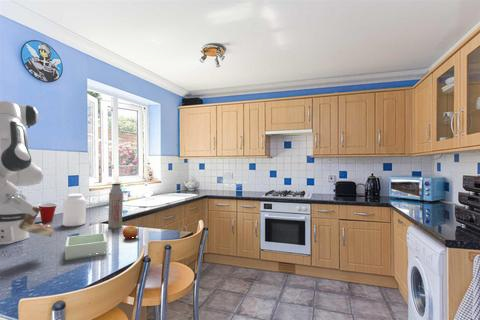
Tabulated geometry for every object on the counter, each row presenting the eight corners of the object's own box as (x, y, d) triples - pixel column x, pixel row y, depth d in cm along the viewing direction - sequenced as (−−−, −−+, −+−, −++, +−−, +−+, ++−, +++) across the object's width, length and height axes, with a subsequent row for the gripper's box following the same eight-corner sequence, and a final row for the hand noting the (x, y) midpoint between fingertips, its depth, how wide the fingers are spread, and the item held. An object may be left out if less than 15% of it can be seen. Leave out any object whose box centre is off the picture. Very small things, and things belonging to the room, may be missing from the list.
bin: (64, 260, 112) (65, 246, 112) (67, 249, 126) (67, 236, 126) (106, 254, 120) (106, 241, 120) (104, 244, 134) (104, 232, 134)
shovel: (22, 230, 108) (35, 207, 111) (17, 226, 113) (30, 204, 116) (50, 236, 115) (62, 215, 119) (45, 233, 121) (56, 212, 124)
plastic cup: (49, 223, 172) (49, 205, 172) (33, 223, 172) (33, 205, 172) (60, 219, 183) (61, 202, 183) (45, 219, 183) (46, 202, 183)
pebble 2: (42, 227, 115) (50, 223, 118) (41, 227, 118) (49, 224, 120) (45, 233, 116) (53, 230, 118) (44, 234, 118) (52, 230, 120)
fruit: (131, 232, 152) (135, 221, 149) (137, 241, 147) (141, 231, 145) (117, 235, 146) (121, 224, 143) (123, 245, 141) (127, 234, 139)
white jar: (89, 222, 178) (90, 193, 178) (76, 227, 165) (77, 195, 165) (72, 221, 179) (73, 192, 179) (58, 226, 166) (58, 195, 167)
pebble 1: (36, 223, 114) (45, 222, 116) (34, 224, 116) (43, 223, 118) (36, 230, 113) (45, 229, 115) (34, 231, 115) (43, 230, 117)
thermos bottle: (120, 228, 165) (121, 184, 166) (107, 228, 163) (108, 184, 163) (122, 225, 173) (124, 183, 173) (109, 225, 171) (110, 183, 171)
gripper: (17, 190, 101) (47, 211, 109) (7, 185, 114) (34, 205, 122) (2, 202, 98) (33, 224, 106) (-7, 196, 111) (21, 216, 118)
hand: (33, 214), depth 114 cm, fingers closed on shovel, 3 cm apart
